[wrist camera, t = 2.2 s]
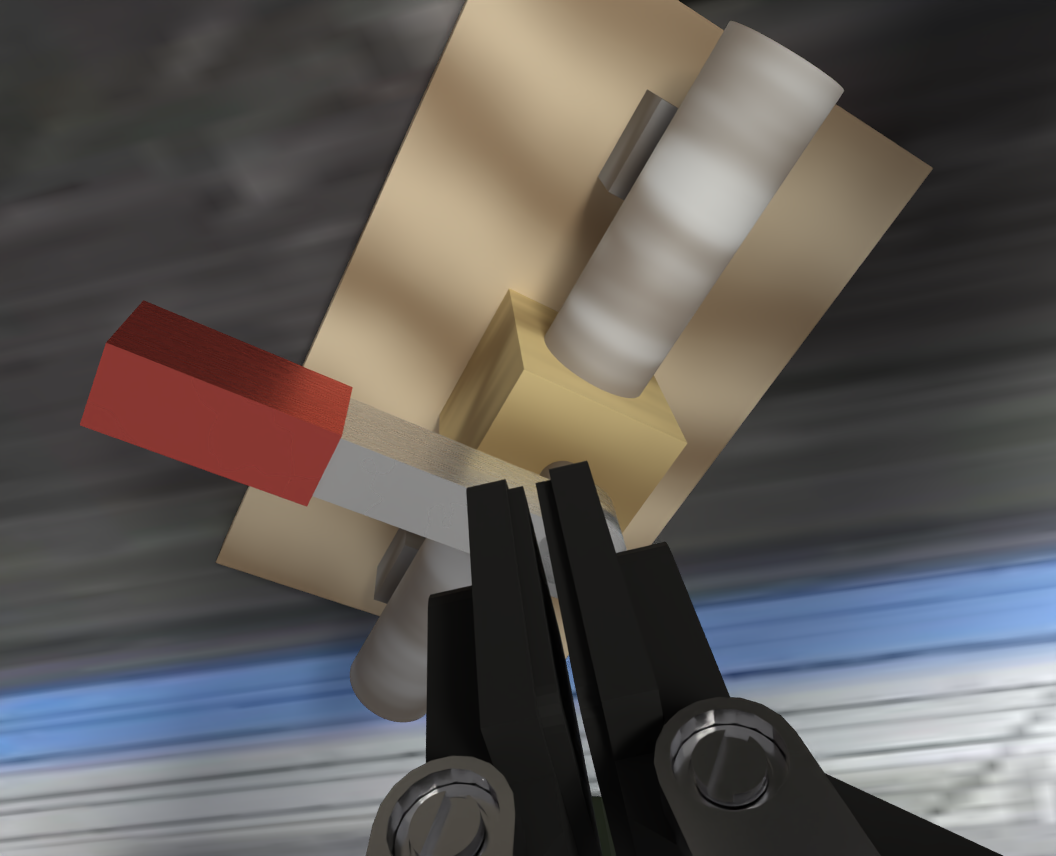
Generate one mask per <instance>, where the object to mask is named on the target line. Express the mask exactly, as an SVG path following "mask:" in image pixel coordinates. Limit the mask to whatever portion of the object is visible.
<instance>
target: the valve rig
mask: <svg viewBox="0 0 1056 856" xmlns="http://www.w3.org/2000/svg"><path fill="white" fill-rule="evenodd" d="M843 92H844V89H843V88H842V87H841V86H840V85H839V84H838V83H837V82H836V81H834V80H833V79H832V78H831V77H829V76H828V75H827V74H825V73H824V72H822V71H821V70H820V69H818V68H817V67H815V66H814V65H812V64H811V63H809V62H808V61H806V60H805V59H803V58H802V57H800V56H798V55H797V54H795V53H794V52H792V51H790V50H789V49H787V48H785V47H784V46H782V45H780V44H778V43H777V42H775V41H773V40H771V39H770V38H768V37H766V36H764V35H762V34H760V33H759V32H757V31H755V30H753V29H751V28H748V27H746V26H744V25H742V24H739V23H737V22H733V21H730V22H729V23H728V25H727V27H726V28H725V30H722V29H721V28H719V27H718V26H716V25H715V24H713V23H711V22H710V21H708V20H707V19H705V18H704V17H702V16H701V15H699V14H698V13H696V12H695V11H693V10H692V9H690V8H689V7H687V6H686V5H684V4H683V3H681V2H680V1H678V0H466V1H465V3H464V5H463V7H462V10H461V12H460V14H459V16H458V19H457V21H456V23H455V25H454V28H453V30H452V32H451V34H450V36H449V39H448V41H447V43H446V45H445V48H444V50H443V52H442V54H441V57H440V59H439V61H438V63H437V66H436V68H435V70H434V72H433V75H432V77H431V79H430V81H429V83H428V86H427V88H426V90H425V92H424V95H423V97H422V99H421V101H420V104H419V106H418V108H417V110H416V113H415V115H414V117H413V119H412V121H411V124H410V126H409V128H408V130H407V133H406V135H405V137H404V139H403V142H402V144H401V146H400V148H399V151H398V153H397V155H396V157H395V159H394V162H393V164H392V166H391V168H390V171H389V173H388V175H387V177H386V180H385V182H384V184H383V186H382V189H381V191H380V193H379V195H378V197H377V200H376V202H375V204H374V206H373V209H372V211H371V213H370V215H369V218H368V220H367V222H366V224H365V227H364V229H363V231H362V233H361V235H360V238H359V240H358V242H357V244H356V247H355V249H354V251H353V253H352V256H351V258H350V260H349V262H348V265H347V267H346V269H345V271H344V274H343V276H342V278H341V280H340V282H339V285H338V287H337V289H336V291H335V294H334V296H333V298H332V300H331V303H330V305H329V307H328V309H327V312H326V314H325V316H324V318H323V320H322V323H321V325H320V327H319V329H318V332H317V334H316V336H315V338H314V341H313V343H312V345H311V347H310V350H309V352H308V354H307V356H306V358H305V361H304V363H303V365H302V366H303V367H305V368H308V369H310V370H312V371H315V372H317V373H320V374H322V375H325V376H327V377H329V378H332V379H334V380H337V381H339V382H341V383H344V384H346V385H349V386H351V387H353V388H352V393H351V397H350V398H352V399H355V400H357V401H359V402H362V403H364V404H367V405H369V406H372V407H374V408H377V409H379V410H381V411H384V412H386V413H389V414H391V415H394V416H396V417H398V418H401V419H403V420H406V421H408V422H411V423H413V424H416V425H418V426H420V427H423V428H425V429H428V430H430V431H433V432H435V433H438V434H440V435H442V436H445V437H447V438H450V439H452V440H455V441H457V442H459V443H462V444H464V445H467V446H469V447H472V448H474V449H477V450H479V451H481V452H484V453H486V454H489V455H491V456H494V457H496V458H499V459H501V460H503V461H506V462H508V463H511V464H513V465H516V466H518V467H520V468H523V469H525V470H528V471H530V472H533V473H535V474H538V475H540V476H542V477H545V478H547V479H550V480H551V478H550V474H549V469H552V468H556V467H560V466H565V465H569V464H574V463H578V462H583V461H588V464H589V467H590V470H591V474H592V477H593V480H594V483H595V485H597V486H599V487H600V488H602V489H603V490H604V491H605V492H606V493H607V494H608V495H609V497H610V499H611V500H612V503H613V505H614V509H615V512H616V515H617V519H618V522H619V525H620V529H621V532H622V535H623V539H624V542H625V545H626V548H627V550H631V549H635V548H640V547H644V546H649V545H651V544H652V543H653V542H654V540H655V539H656V538H657V536H658V535H659V534H660V532H661V531H662V530H663V528H664V527H665V526H666V524H667V523H668V522H669V520H670V519H671V518H672V516H673V515H674V514H675V512H676V511H677V510H678V508H679V507H680V506H681V504H682V503H683V502H684V500H685V499H686V498H687V496H688V495H689V494H690V492H691V491H692V490H693V488H694V487H695V486H696V484H697V483H698V482H699V480H700V479H701V478H702V476H703V475H704V474H705V472H706V471H707V469H708V468H709V467H710V465H711V464H712V463H713V461H714V460H715V459H716V457H717V456H718V455H719V453H720V452H721V451H722V449H723V448H724V447H725V445H726V444H727V443H728V441H729V440H730V439H731V437H732V436H733V435H734V433H735V432H736V431H737V429H738V428H739V427H740V425H741V424H742V423H743V421H744V420H745V419H746V417H747V416H748V415H749V413H750V412H751V411H752V409H753V408H754V407H755V405H756V404H757V403H758V401H759V400H760V399H761V397H762V396H763V395H764V393H765V392H766V391H767V389H768V388H769V387H770V385H771V384H772V383H773V381H774V380H775V379H776V377H777V376H778V375H779V373H780V372H781V371H782V369H783V368H784V367H785V365H786V364H787V363H788V361H789V360H790V359H791V357H792V356H793V355H794V353H795V352H796V351H797V349H798V348H799V347H800V345H801V344H802V343H803V341H804V340H805V339H806V337H807V336H808V335H809V333H810V332H811V331H812V329H813V328H814V327H815V325H816V324H817V323H818V321H819V320H820V319H821V317H822V316H823V315H824V313H825V312H826V311H827V309H828V308H829V307H830V305H831V304H832V303H833V301H834V300H835V299H836V297H837V296H838V295H839V293H840V292H841V291H842V289H843V288H844V287H845V285H846V284H847V283H848V281H849V280H850V279H851V277H852V276H853V275H854V273H855V272H856V271H857V269H858V268H859V267H860V265H861V264H862V263H863V261H864V260H865V259H866V257H867V256H868V255H869V253H870V252H871V251H872V249H873V248H874V247H875V245H876V244H877V243H878V241H879V240H880V239H881V237H882V236H883V235H884V233H885V232H886V231H887V229H888V228H889V227H890V225H891V224H892V223H893V221H894V220H895V219H896V217H897V216H898V215H899V213H900V212H901V211H902V209H903V208H904V207H905V205H906V204H907V203H908V201H909V200H910V199H911V197H912V196H913V195H914V193H915V192H916V191H917V189H918V188H919V187H920V185H921V184H922V183H923V181H924V180H925V178H926V177H927V176H928V174H929V173H930V172H931V170H932V169H933V168H932V167H931V166H929V165H928V164H926V163H925V162H923V161H921V160H920V159H918V158H917V157H915V156H914V155H912V154H911V153H909V152H908V151H906V150H905V149H903V148H902V147H900V146H899V145H897V144H896V143H894V142H893V141H891V140H890V139H888V138H886V137H885V136H883V135H882V134H880V133H879V132H877V131H876V130H874V129H873V128H871V127H870V126H868V125H867V124H865V123H864V122H862V121H861V120H859V119H858V118H856V117H855V116H853V115H851V114H850V113H848V112H847V111H845V110H844V109H842V108H841V107H839V106H838V105H836V102H837V101H838V100H839V98H840V97H841V95H842V94H843ZM216 563H218V564H221V565H224V566H227V567H230V568H234V569H237V570H240V571H243V572H246V573H249V574H252V575H255V576H258V577H261V578H264V579H267V580H270V581H273V582H277V583H280V584H283V585H286V586H289V587H292V588H295V589H298V590H301V591H304V592H307V593H310V594H313V595H316V596H320V597H323V598H326V599H329V600H332V601H335V602H338V603H341V604H344V605H347V606H350V607H353V608H356V609H359V610H363V611H366V612H369V613H372V614H375V615H378V616H380V617H379V619H378V620H377V622H376V624H375V626H374V627H373V629H372V631H371V632H370V634H369V636H368V637H367V639H366V641H365V643H364V644H363V646H362V648H361V649H360V651H359V653H358V654H357V656H356V658H355V660H354V661H353V663H352V665H351V669H350V682H351V686H352V688H353V691H354V692H355V694H356V696H357V697H358V699H359V700H360V701H361V703H362V704H363V705H364V706H365V707H366V708H368V709H369V710H370V711H371V712H373V713H374V714H376V715H378V716H380V717H382V718H384V719H387V720H390V721H395V722H411V721H414V720H417V719H419V718H421V717H423V716H424V715H425V714H426V710H427V624H428V599H429V596H430V595H431V594H435V593H440V592H444V591H449V590H453V589H457V588H462V587H466V586H471V585H472V580H471V563H470V553H467V552H464V551H461V550H459V549H456V548H453V547H450V546H448V545H445V544H442V543H439V542H437V541H434V540H431V539H428V538H426V537H423V536H420V535H417V534H415V533H412V532H409V531H407V530H404V529H401V528H398V527H396V526H393V525H390V524H387V523H385V522H382V521H379V520H376V519H374V518H371V517H368V516H365V515H363V514H360V513H357V512H354V511H352V510H349V509H346V508H343V507H341V506H338V505H335V504H332V503H330V502H327V501H324V500H321V499H319V498H316V497H313V496H312V498H311V500H310V502H309V504H308V506H307V507H306V506H303V505H301V504H298V503H295V502H292V501H289V500H287V499H284V498H281V497H278V496H276V495H273V494H270V493H267V492H264V491H262V490H259V489H256V488H253V487H251V486H248V488H247V490H246V493H245V495H244V497H243V499H242V502H241V504H240V506H239V508H238V511H237V513H236V515H235V517H234V519H233V522H232V524H231V526H230V528H229V531H228V533H227V535H226V537H225V540H224V542H223V545H222V547H221V550H220V553H219V555H218V558H217V560H216ZM551 599H552V603H553V607H554V611H555V615H556V619H557V623H558V627H559V631H560V635H561V640H562V644H563V649H564V654H565V659H566V658H567V656H568V655H569V652H568V647H567V642H566V637H565V632H564V627H563V622H562V617H561V612H560V606H559V601H558V598H555V597H552V596H551Z"/></svg>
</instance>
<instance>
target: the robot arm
mask: <svg viewBox="0 0 1056 856" xmlns="http://www.w3.org/2000/svg"><path fill="white" fill-rule="evenodd" d="M549 474H550V478H551V480H547V481H542V482H538V483H536V489H537V494H538V499H539V504H540V509H541V514H542V520H543V525H544V530H545V535H546V540H547V545H548V550H549V555H550V560H551V566H552V571H553V576H554V581H555V586H556V591H557V596H558V601H559V606H560V612H561V617H562V622H563V627H564V632H565V637H566V642H567V647H568V652H569V658H570V663H571V668H572V673H573V678H574V683H575V688H576V693H577V697H578V702H579V706H580V711H581V715H582V720H583V724H584V728H585V732H586V736H587V740H588V744H589V748H590V752H591V756H592V760H593V764H594V768H595V772H596V776H597V780H598V784H599V788H600V792H601V796H602V800H603V804H604V808H605V812H606V816H607V820H608V824H609V829H610V833H611V837H612V841H613V845H614V849H615V853H616V856H1003V855H1001V854H998V853H996V852H994V851H992V850H990V849H988V848H985V847H983V846H981V845H979V844H977V843H975V842H972V841H970V840H968V839H966V838H964V837H962V836H959V835H957V834H955V833H953V832H951V831H949V830H946V829H944V828H942V827H940V826H938V825H936V824H933V823H931V822H929V821H927V820H925V819H923V818H920V817H918V816H916V815H914V814H912V813H910V812H907V811H905V810H903V809H901V808H899V807H897V806H895V805H892V804H890V803H888V802H886V801H884V800H882V799H879V798H877V797H875V796H873V795H871V794H869V793H866V792H864V791H862V790H860V789H858V788H856V787H853V786H851V785H849V784H847V783H845V782H843V781H840V780H838V779H836V778H834V777H832V776H830V775H827V774H825V773H824V772H823V770H822V769H821V767H820V766H819V764H818V763H817V761H816V760H815V759H814V757H813V756H812V754H811V753H810V751H809V750H808V748H807V747H806V745H805V744H804V742H803V741H802V739H801V738H800V737H799V735H798V734H797V732H796V731H795V730H794V729H793V728H792V727H791V726H790V725H789V723H788V722H787V721H786V720H785V719H784V718H783V717H782V716H781V715H779V714H778V713H776V712H774V711H773V710H771V709H769V708H768V707H766V706H764V705H763V704H760V703H757V702H753V701H750V700H746V699H743V698H735V697H730V696H729V693H728V691H727V688H726V686H725V683H724V681H723V678H722V676H721V673H720V671H719V668H718V666H717V664H716V661H715V659H714V656H713V654H712V651H711V649H710V646H709V644H708V641H707V639H706V636H705V634H704V632H703V629H702V627H701V624H700V622H699V619H698V617H697V614H696V612H695V609H694V607H693V604H692V602H691V600H690V597H689V595H688V592H687V590H686V587H685V585H684V582H683V580H682V577H681V575H680V572H679V570H678V568H677V565H676V563H675V560H674V558H673V555H672V553H671V551H670V548H669V546H668V545H667V543H666V542H662V543H658V544H653V545H649V546H644V547H640V548H635V549H631V550H627V551H622V552H618V553H616V551H615V548H614V544H613V541H612V538H611V535H610V532H609V528H608V525H607V522H606V519H605V515H604V512H603V509H602V506H601V503H600V499H599V496H598V493H597V490H596V487H595V483H594V480H593V477H592V474H591V470H590V467H589V464H588V461H583V462H578V463H574V464H569V465H565V466H560V467H556V468H552V469H549ZM466 496H467V513H468V530H469V547H470V563H471V580H472V585H471V586H466V587H462V588H457V589H453V590H449V591H444V592H440V593H435V594H431V595H430V596H429V599H428V624H427V710H426V763H425V764H423V765H422V766H420V767H418V768H416V769H414V770H412V771H410V772H409V773H408V774H407V775H406V776H405V777H403V778H402V779H401V780H400V781H399V782H398V783H396V784H395V785H394V786H393V788H392V789H391V790H390V792H389V793H388V795H387V796H386V797H385V799H384V800H383V802H382V803H381V804H380V807H379V809H378V812H377V815H376V817H375V820H374V823H373V825H372V830H371V834H370V838H369V843H368V847H367V852H366V856H603V855H602V850H601V844H600V839H599V834H598V828H597V823H596V818H595V813H594V807H593V802H592V797H591V791H590V786H589V781H588V776H587V770H586V765H585V760H584V755H583V749H582V744H581V739H580V733H579V728H578V723H577V718H576V712H575V707H574V702H573V696H572V691H571V686H570V681H569V675H568V670H567V665H566V659H565V654H564V649H563V644H562V640H561V635H560V631H559V627H558V623H557V619H556V615H555V611H554V607H553V603H552V599H551V595H550V591H549V587H548V583H547V579H546V575H545V571H544V567H543V563H542V559H541V555H540V551H539V547H538V543H537V539H536V535H535V531H534V527H533V523H532V519H531V515H530V511H529V506H528V502H527V498H526V495H525V491H524V487H523V486H520V487H516V488H511V489H509V488H508V485H507V481H506V479H503V480H499V481H494V482H490V483H485V484H481V485H476V486H472V487H468V488H467V489H466Z"/></svg>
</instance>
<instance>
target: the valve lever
mask: <svg viewBox="0 0 1056 856" xmlns="http://www.w3.org/2000/svg"><path fill="white" fill-rule="evenodd" d="M352 388H353V387H351V386H349V385H346V384H344V383H341V382H339V381H337V380H334V379H332V378H329V377H327V376H325V375H322V374H320V373H317V372H315V371H312V370H310V369H308V368H305V367H303V366H300V365H298V364H296V363H293V362H291V361H288V360H286V359H284V358H281V357H279V356H276V355H274V354H271V353H269V352H267V351H264V350H262V349H259V348H257V347H255V346H252V345H250V344H247V343H245V342H243V341H240V340H238V339H235V338H233V337H230V336H228V335H226V334H223V333H221V332H218V331H216V330H214V329H211V328H209V327H206V326H204V325H202V324H199V323H197V322H194V321H192V320H189V319H187V318H185V317H182V316H180V315H177V314H175V313H173V312H170V311H168V310H165V309H163V308H161V307H158V306H156V305H153V304H151V303H148V302H146V301H144V300H143V302H142V303H141V304H140V305H139V306H138V307H137V308H136V309H135V311H134V312H133V313H132V314H131V315H130V316H129V317H128V319H127V320H126V321H125V322H124V323H123V324H122V325H121V326H120V328H119V329H118V330H117V331H116V332H115V333H114V334H113V336H112V337H111V338H110V339H109V340H108V341H107V342H106V345H105V348H104V351H103V354H102V357H101V360H100V363H99V367H98V370H97V373H96V376H95V379H94V382H93V385H92V388H91V392H90V395H89V398H88V401H87V404H86V407H85V410H84V413H83V417H82V420H81V423H80V425H81V426H84V427H86V428H89V429H92V430H95V431H98V432H100V433H103V434H106V435H109V436H112V437H114V438H117V439H120V440H123V441H125V442H128V443H131V444H134V445H137V446H139V447H142V448H145V449H148V450H150V451H153V452H156V453H159V454H162V455H164V456H167V457H170V458H173V459H175V460H178V461H181V462H184V463H187V464H189V465H192V466H195V467H198V468H200V469H203V470H206V471H209V472H212V473H214V474H217V475H220V476H223V477H226V478H228V479H231V480H234V481H237V482H239V483H242V484H245V485H248V486H251V487H253V488H256V489H259V490H262V491H264V492H267V493H270V494H273V495H276V496H278V497H281V498H284V499H287V500H289V501H292V502H295V503H298V504H301V505H303V506H306V507H307V506H308V504H309V502H310V500H311V498H312V496H313V497H316V498H319V499H321V500H324V501H327V502H330V503H332V504H335V505H338V506H341V507H343V508H346V509H349V510H352V511H354V512H357V513H360V514H363V515H365V516H368V517H371V518H374V519H376V520H379V521H382V522H385V523H387V524H390V525H393V526H396V527H398V528H401V529H404V530H407V531H409V532H412V533H415V534H417V535H420V536H423V537H426V538H428V539H431V540H434V541H437V542H439V543H442V544H445V545H448V546H450V547H453V548H456V549H459V550H461V551H464V552H467V553H470V547H469V530H468V513H467V496H466V489H467V488H468V487H472V486H476V485H481V484H485V483H490V482H494V481H499V480H503V479H506V481H507V485H508V488H509V489H511V488H516V487H520V486H523V487H524V491H525V495H526V498H527V502H528V506H529V511H530V515H531V519H532V523H533V527H534V531H535V535H536V539H537V543H538V547H539V551H540V555H541V559H542V563H543V567H544V571H545V575H546V579H547V583H548V587H549V591H550V595H551V596H552V597H555V598H558V596H557V591H556V586H555V581H554V576H553V571H552V566H551V560H550V555H549V550H548V545H547V540H546V535H545V530H544V525H543V520H542V514H541V509H540V504H539V499H538V494H537V489H536V483H538V482H542V481H547V480H550V479H547V478H545V477H542V476H540V475H538V474H535V473H533V472H530V471H528V470H525V469H523V468H520V467H518V466H516V465H513V464H511V463H508V462H506V461H503V460H501V459H499V458H496V457H494V456H491V455H489V454H486V453H484V452H481V451H479V450H477V449H474V448H472V447H469V446H467V445H464V444H462V443H459V442H457V441H455V440H452V439H450V438H447V437H445V436H442V435H440V434H438V433H435V432H433V431H430V430H428V429H425V428H423V427H420V426H418V425H416V424H413V423H411V422H408V421H406V420H403V419H401V418H398V417H396V416H394V415H391V414H389V413H386V412H384V411H381V410H379V409H377V408H374V407H372V406H369V405H367V404H364V403H362V402H359V401H357V400H355V399H352V398H350V397H351V393H352ZM595 487H596V490H597V493H598V496H599V499H600V503H601V506H602V509H603V512H604V515H605V519H606V522H607V525H608V528H609V532H610V535H611V538H612V541H613V544H614V548H615V551H616V553H618V552H622V551H627V548H626V545H625V542H624V539H623V535H622V532H621V529H620V525H619V522H618V519H617V515H616V512H615V509H614V505H613V503H612V500H611V499H610V497H609V495H608V494H607V493H606V492H605V491H604V490H603V489H602V488H600V487H599V486H597V485H595Z"/></svg>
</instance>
